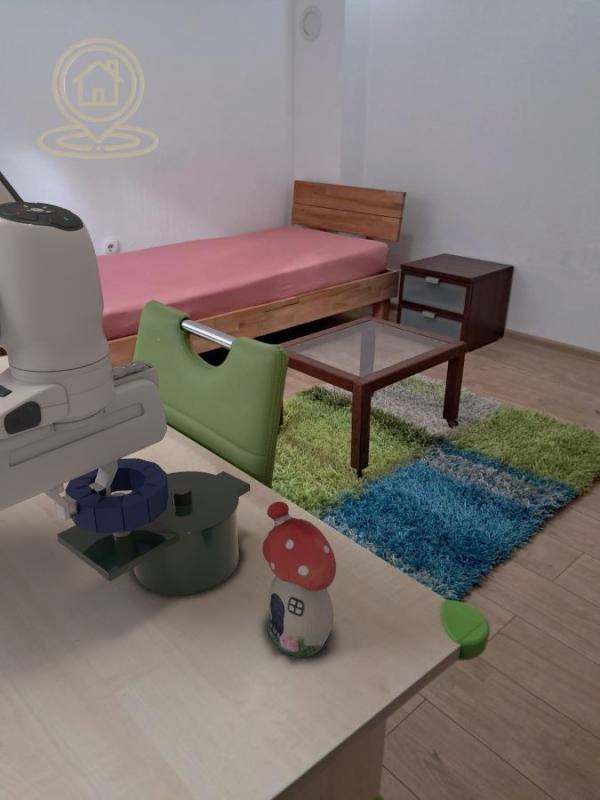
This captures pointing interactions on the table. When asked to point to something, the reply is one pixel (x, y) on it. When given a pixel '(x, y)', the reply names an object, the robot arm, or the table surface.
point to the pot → (173, 538)
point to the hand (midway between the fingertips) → (84, 507)
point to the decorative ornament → (298, 583)
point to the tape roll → (121, 498)
